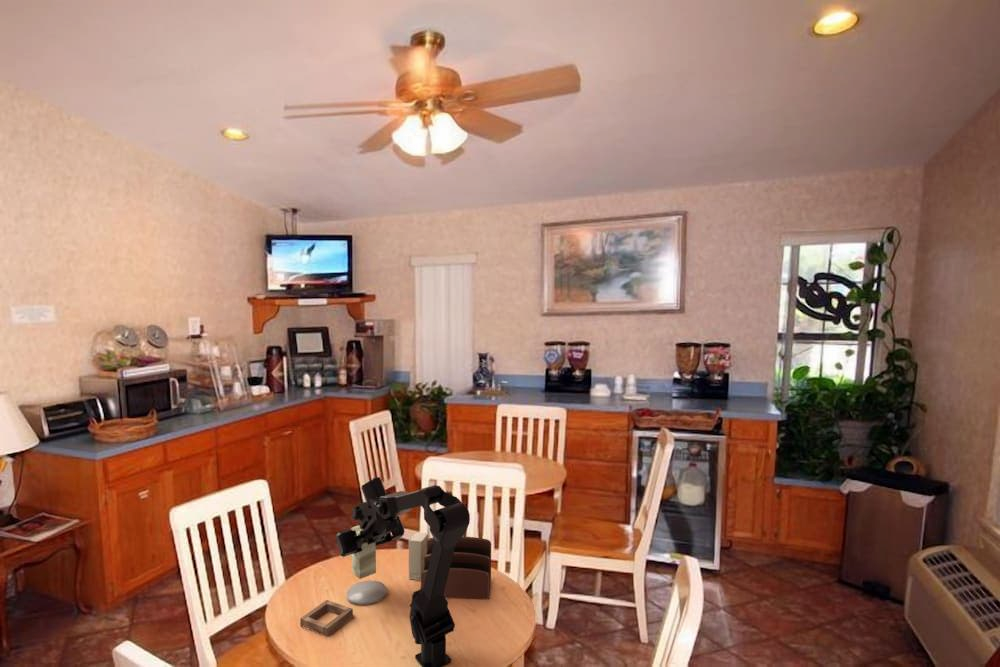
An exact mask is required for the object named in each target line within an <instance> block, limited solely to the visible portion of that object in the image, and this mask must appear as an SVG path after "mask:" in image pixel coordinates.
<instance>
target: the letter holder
mask: <svg viewBox="0 0 1000 667" xmlns="http://www.w3.org/2000/svg"><path fill="white" fill-rule="evenodd" d="M433 543H434V538H433V537H430V538H429V537H428V540H427V555H425V557H424V571H422V573H421V580H420V589H422V588H424V583H425V579H426V574H427V570H428V566H429V561H430V557H431V552H432V548H433ZM491 584H492V542H491V540H490V539H488V538H483V537H475V536H474V537H473V536H463V537H462V538H461V539H460V540H459V541H458V543H457V544H456V546H455V549H454V554H453V558H452V562H451V566H450V570H449V574H448V578H447V583H446V587H445V591H444V596H445V597H446V599H462V598H463V600H464V599H469V600H490V595H491V594H490V593H491Z"/></svg>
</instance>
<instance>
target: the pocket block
mask: <svg viewBox="0 0 1000 667" xmlns="http://www.w3.org/2000/svg"><path fill="white" fill-rule="evenodd" d="M324 612H325V613H326V612H329V613H332V614H334V615H337V616H336V617H334V618H333V619H332V620H331V621H329V622H328V623H325V622H322V621H320V620H316V619H317V617H318V618H319V617H320V616H322V615H323V614H325V613H324ZM353 616H354V609H353V608H351V607H349V606H346V605H343V604H341V603H337V602H334V601H331V600H329V599H326V600H324V601H323V602H322V603H320V604H318V605H317V606H316V607H314V608H313V609H311V610H310V611H309V612H307V613H306V614H305V615H303V616H302V617H300V620H299V621H300V624H299V625H301V626H300V627H302V626H304V627H306V628H305V629H307V628H309V629H311V630H310V631H312V630H313V631H312V632H315V631H316V632H315V633H317V632H318V634H320V635H322V634H323V636H326V637H329V636H330V634H332V633H334V631H336V630H337V629H339V627H341V626H342V625H344V624H345V623H346V622H347V621H348V620H350V619H351V618H352V617H353ZM304 627H303V628H304ZM309 629H308V630H309Z"/></svg>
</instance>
